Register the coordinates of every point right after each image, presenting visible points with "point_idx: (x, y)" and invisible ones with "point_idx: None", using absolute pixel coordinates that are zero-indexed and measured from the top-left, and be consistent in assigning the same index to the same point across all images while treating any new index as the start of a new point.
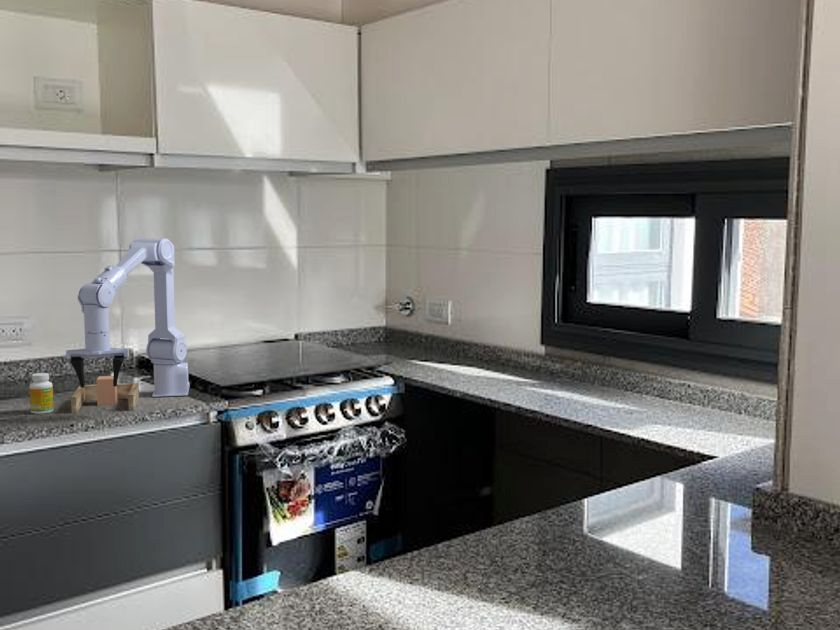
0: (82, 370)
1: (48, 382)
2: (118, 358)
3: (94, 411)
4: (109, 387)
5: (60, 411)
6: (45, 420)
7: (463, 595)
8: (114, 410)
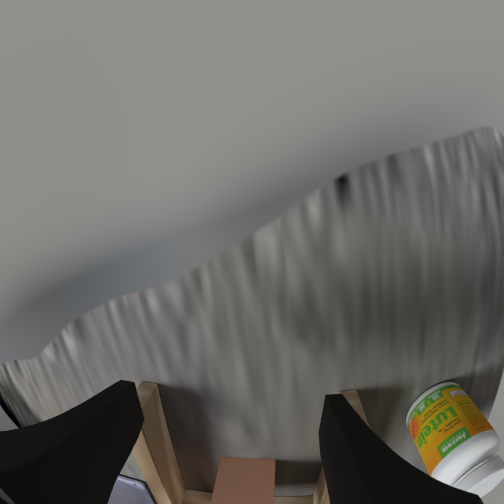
0: (345, 500)
1: (452, 473)
2: None
3: (277, 400)
4: (230, 501)
5: (387, 410)
6: (439, 291)
7: None
8: (207, 398)
